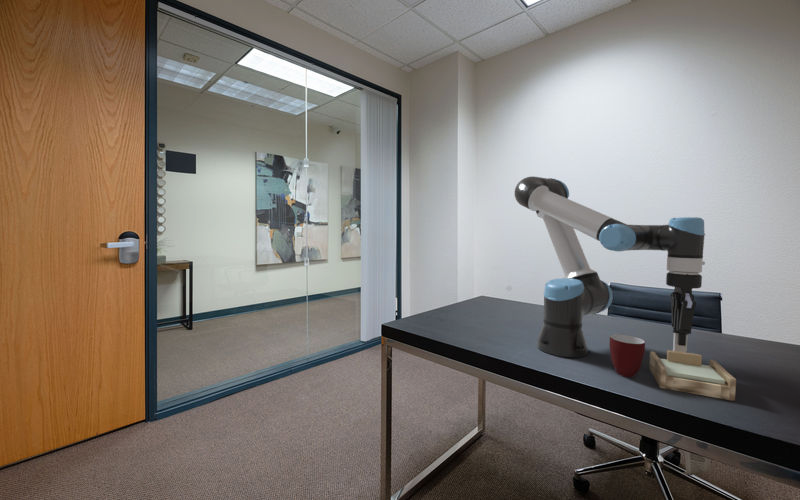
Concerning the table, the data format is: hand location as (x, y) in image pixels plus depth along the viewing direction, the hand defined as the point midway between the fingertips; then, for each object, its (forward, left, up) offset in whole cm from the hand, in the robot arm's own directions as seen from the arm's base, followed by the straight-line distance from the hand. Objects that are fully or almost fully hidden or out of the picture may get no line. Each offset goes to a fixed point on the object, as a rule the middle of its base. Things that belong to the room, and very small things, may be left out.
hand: (679, 355), depth 93 cm
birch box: (0, -8, -5) cm, 10 cm away
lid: (0, -8, -2) cm, 8 cm away
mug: (-14, -8, -5) cm, 17 cm away
